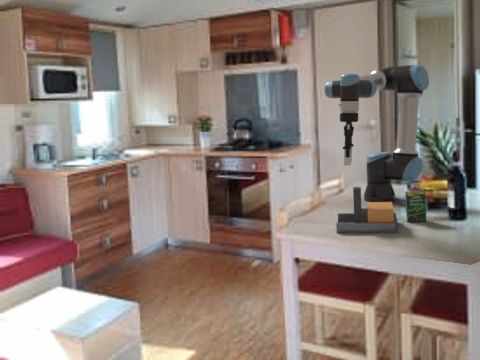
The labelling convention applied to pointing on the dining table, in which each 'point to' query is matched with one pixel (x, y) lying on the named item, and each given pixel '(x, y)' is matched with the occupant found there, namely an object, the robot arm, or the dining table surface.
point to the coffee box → (415, 206)
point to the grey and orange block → (372, 209)
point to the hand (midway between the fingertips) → (347, 163)
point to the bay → (364, 225)
